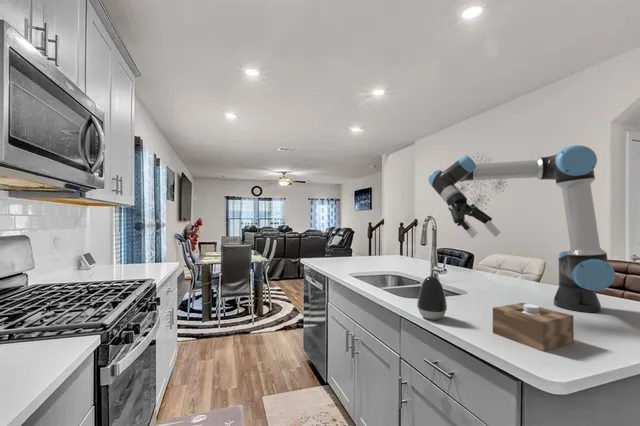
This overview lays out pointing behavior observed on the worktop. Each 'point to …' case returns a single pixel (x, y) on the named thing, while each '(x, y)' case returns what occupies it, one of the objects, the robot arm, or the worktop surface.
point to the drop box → (533, 326)
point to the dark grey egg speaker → (432, 299)
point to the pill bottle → (531, 309)
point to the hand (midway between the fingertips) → (486, 235)
